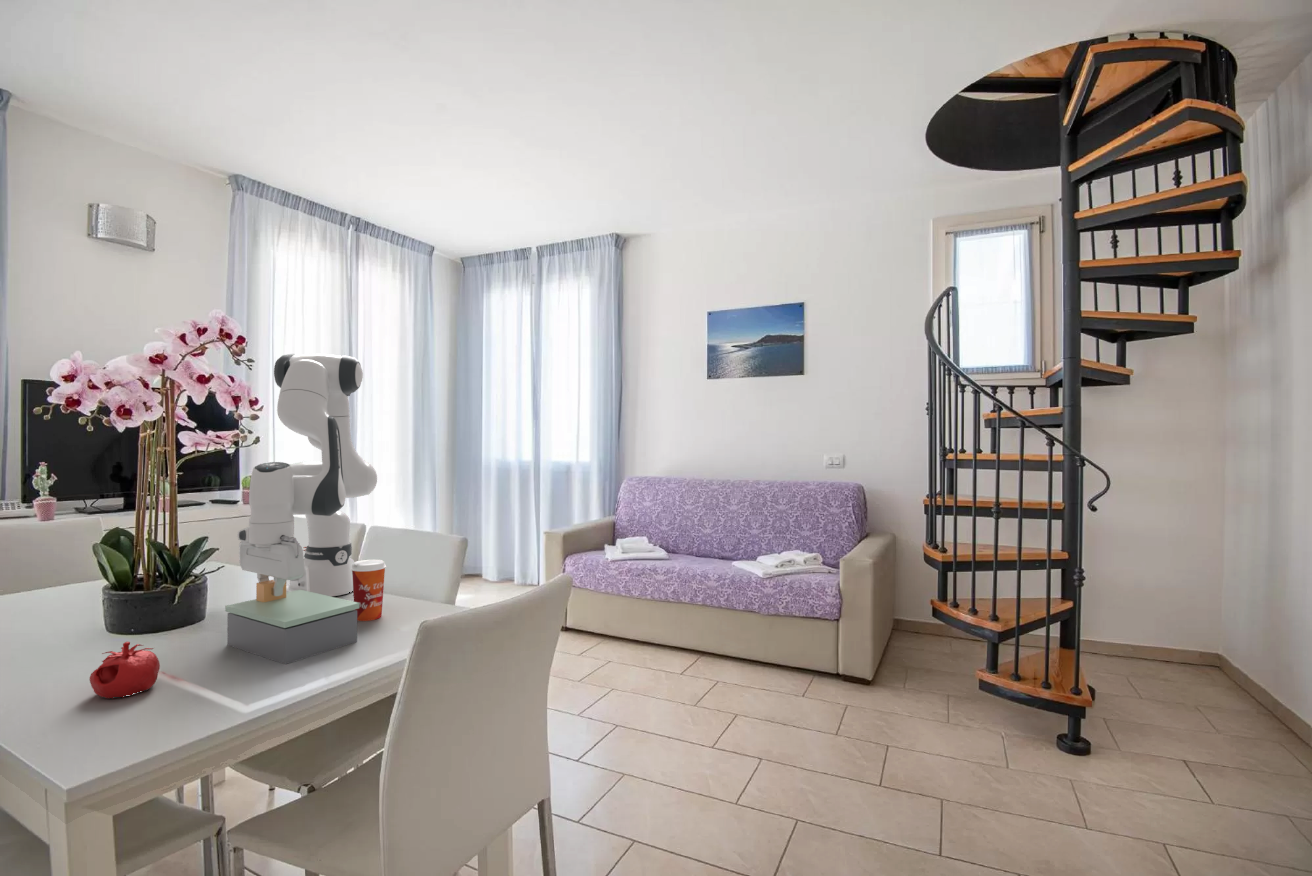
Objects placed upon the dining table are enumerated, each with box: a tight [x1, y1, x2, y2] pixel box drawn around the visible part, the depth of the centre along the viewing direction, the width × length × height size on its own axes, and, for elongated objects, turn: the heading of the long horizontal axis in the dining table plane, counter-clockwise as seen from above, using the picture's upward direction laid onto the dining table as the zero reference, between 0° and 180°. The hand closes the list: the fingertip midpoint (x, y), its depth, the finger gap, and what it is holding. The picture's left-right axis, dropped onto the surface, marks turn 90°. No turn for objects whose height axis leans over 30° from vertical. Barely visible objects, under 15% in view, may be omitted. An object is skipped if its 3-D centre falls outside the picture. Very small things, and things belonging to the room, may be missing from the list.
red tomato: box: [89, 641, 161, 699], centre depth 115 cm, size 10×10×9 cm
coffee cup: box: [351, 559, 387, 622], centre depth 158 cm, size 8×8×15 cm
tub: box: [226, 610, 358, 665], centre depth 138 cm, size 22×16×8 cm
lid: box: [224, 579, 359, 628], centre depth 138 cm, size 23×17×5 cm
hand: (271, 594), depth 143 cm, fingers closed on lid, 3 cm apart
